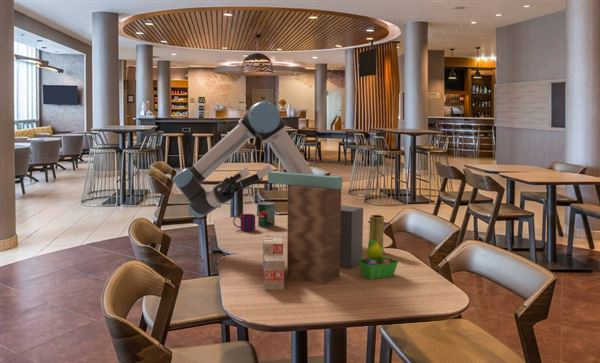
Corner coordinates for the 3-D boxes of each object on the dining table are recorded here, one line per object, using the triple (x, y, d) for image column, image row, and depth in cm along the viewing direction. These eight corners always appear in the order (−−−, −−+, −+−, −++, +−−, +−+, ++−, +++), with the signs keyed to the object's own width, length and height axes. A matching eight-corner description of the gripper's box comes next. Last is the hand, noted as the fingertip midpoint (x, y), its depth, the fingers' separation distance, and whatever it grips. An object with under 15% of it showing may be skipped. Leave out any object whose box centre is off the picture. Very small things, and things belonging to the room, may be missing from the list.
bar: (267, 182, 179) (267, 172, 179) (273, 181, 182) (273, 171, 182) (336, 189, 166) (337, 177, 165) (342, 187, 169) (342, 176, 168)
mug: (254, 231, 243) (254, 216, 242) (232, 231, 243) (232, 216, 242) (255, 228, 250) (255, 213, 249) (234, 228, 250) (234, 213, 249)
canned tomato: (277, 224, 258) (277, 202, 257) (270, 228, 251) (270, 204, 249) (262, 223, 261) (262, 201, 259) (255, 226, 253) (255, 203, 252)
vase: (385, 251, 210) (386, 215, 208) (382, 254, 204) (383, 218, 202) (369, 249, 212) (370, 214, 210) (366, 253, 206) (367, 216, 204)
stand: (287, 277, 175) (287, 186, 171) (303, 269, 184) (304, 182, 180) (324, 284, 168) (326, 189, 164) (339, 276, 176) (341, 186, 173)
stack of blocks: (284, 290, 162) (284, 250, 161) (263, 290, 162) (263, 251, 160) (281, 270, 184) (281, 234, 182) (262, 270, 183) (262, 235, 182)
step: (320, 263, 192) (321, 208, 189) (332, 257, 200) (333, 204, 197) (350, 268, 186) (352, 211, 183) (361, 262, 193) (363, 207, 191)
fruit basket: (369, 280, 172) (369, 246, 171) (355, 273, 180) (356, 240, 179) (398, 276, 177) (400, 243, 175) (384, 269, 185) (385, 237, 183)
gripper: (245, 199, 214) (283, 176, 203) (201, 207, 193) (241, 182, 182) (237, 182, 216) (275, 158, 204) (194, 188, 195) (233, 162, 184)
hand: (259, 169), depth 193 cm, fingers open, 13 cm apart
